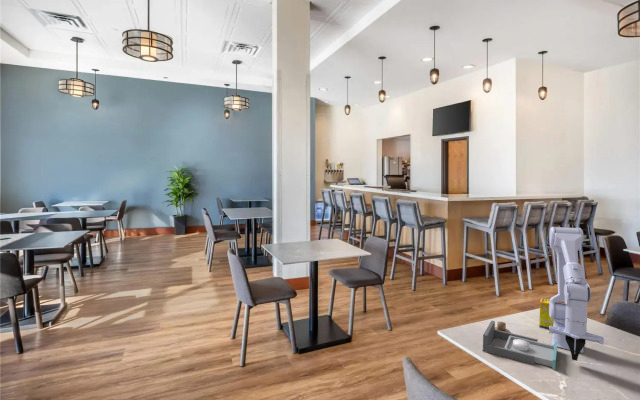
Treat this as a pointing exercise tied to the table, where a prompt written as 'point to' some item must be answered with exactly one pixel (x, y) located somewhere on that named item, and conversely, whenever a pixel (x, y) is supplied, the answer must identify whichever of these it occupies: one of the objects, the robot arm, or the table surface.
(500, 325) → the disc stand
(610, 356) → the table surface
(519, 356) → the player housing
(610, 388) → the table surface
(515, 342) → the white round dome
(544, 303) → the supplement box
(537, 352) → the tray
